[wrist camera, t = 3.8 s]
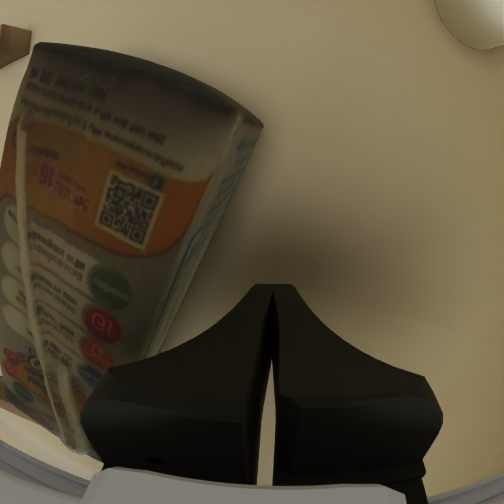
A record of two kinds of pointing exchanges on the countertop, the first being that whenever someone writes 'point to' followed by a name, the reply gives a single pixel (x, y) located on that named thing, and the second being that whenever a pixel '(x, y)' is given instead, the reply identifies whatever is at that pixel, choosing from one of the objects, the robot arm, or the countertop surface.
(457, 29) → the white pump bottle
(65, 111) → the beverage carton
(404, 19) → the countertop surface
